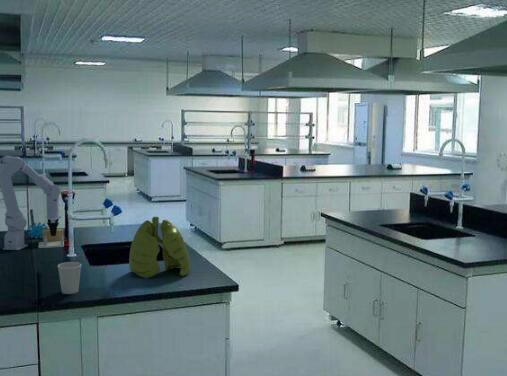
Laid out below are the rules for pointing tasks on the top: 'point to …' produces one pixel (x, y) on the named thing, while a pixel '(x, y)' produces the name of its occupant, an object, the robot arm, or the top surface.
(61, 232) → the tan rectangular block
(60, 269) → the dixie cup
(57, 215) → the robot arm
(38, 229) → the blue spiky piece
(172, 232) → the lungs
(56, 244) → the tray
